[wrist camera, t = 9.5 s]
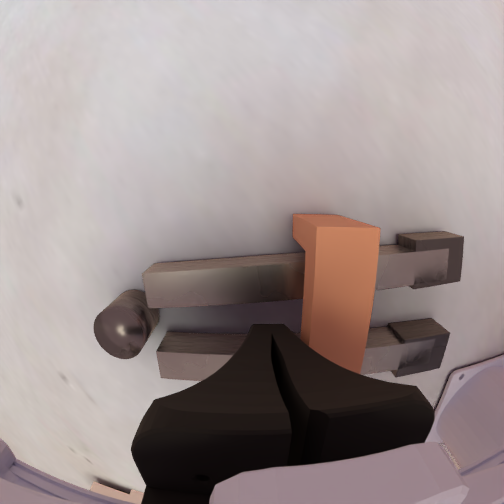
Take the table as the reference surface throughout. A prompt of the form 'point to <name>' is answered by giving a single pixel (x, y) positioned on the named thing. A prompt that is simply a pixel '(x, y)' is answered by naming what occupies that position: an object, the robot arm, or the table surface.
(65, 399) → the table surface
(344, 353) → the orange bridge block
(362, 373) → the base
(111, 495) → the bracket
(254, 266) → the tong arm
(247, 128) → the table surface
